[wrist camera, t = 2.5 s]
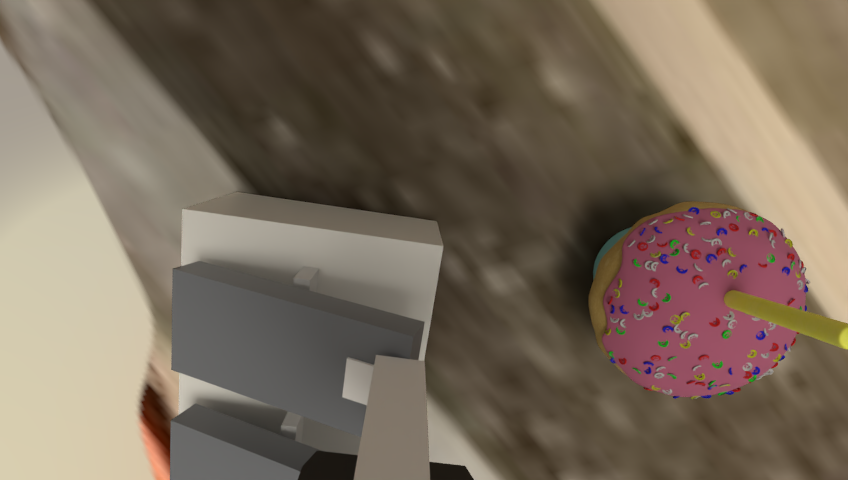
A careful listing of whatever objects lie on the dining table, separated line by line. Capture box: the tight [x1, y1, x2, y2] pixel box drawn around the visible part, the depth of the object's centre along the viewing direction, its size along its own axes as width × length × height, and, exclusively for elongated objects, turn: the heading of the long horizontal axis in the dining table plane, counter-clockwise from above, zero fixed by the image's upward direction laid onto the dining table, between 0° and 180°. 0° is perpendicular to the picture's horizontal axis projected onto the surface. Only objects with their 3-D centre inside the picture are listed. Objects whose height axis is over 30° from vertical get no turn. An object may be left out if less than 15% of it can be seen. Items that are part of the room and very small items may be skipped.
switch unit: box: [179, 192, 443, 455], centre depth 20 cm, size 20×10×6 cm, turn 171°
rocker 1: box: [171, 261, 425, 437], centre depth 15 cm, size 4×9×1 cm, turn 81°
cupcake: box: [588, 201, 848, 399], centre depth 16 cm, size 9×8×12 cm
